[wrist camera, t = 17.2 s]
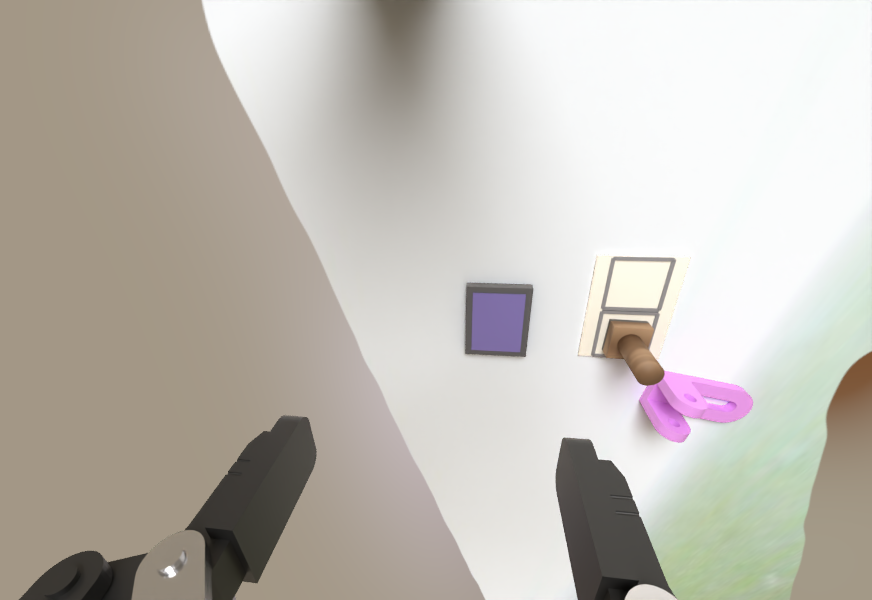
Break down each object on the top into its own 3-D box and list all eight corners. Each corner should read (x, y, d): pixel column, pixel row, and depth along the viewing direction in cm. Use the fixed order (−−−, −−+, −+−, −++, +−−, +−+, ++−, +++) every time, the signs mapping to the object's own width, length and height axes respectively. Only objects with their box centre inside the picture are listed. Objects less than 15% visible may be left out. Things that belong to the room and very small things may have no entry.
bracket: (638, 399, 50) (660, 438, 43) (656, 368, 47) (682, 405, 41) (731, 418, 49) (767, 460, 43) (754, 388, 47) (796, 428, 40)
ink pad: (467, 282, 45) (466, 287, 43) (531, 284, 44) (533, 289, 42) (465, 348, 49) (465, 354, 48) (524, 351, 48) (525, 357, 47)
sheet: (597, 254, 41) (598, 256, 41) (689, 256, 40) (691, 258, 39) (577, 354, 47) (578, 356, 47) (657, 358, 46) (659, 360, 46)
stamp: (609, 318, 44) (633, 356, 37) (647, 321, 44) (679, 359, 37) (601, 348, 46) (623, 389, 39) (637, 351, 46) (666, 393, 39)
